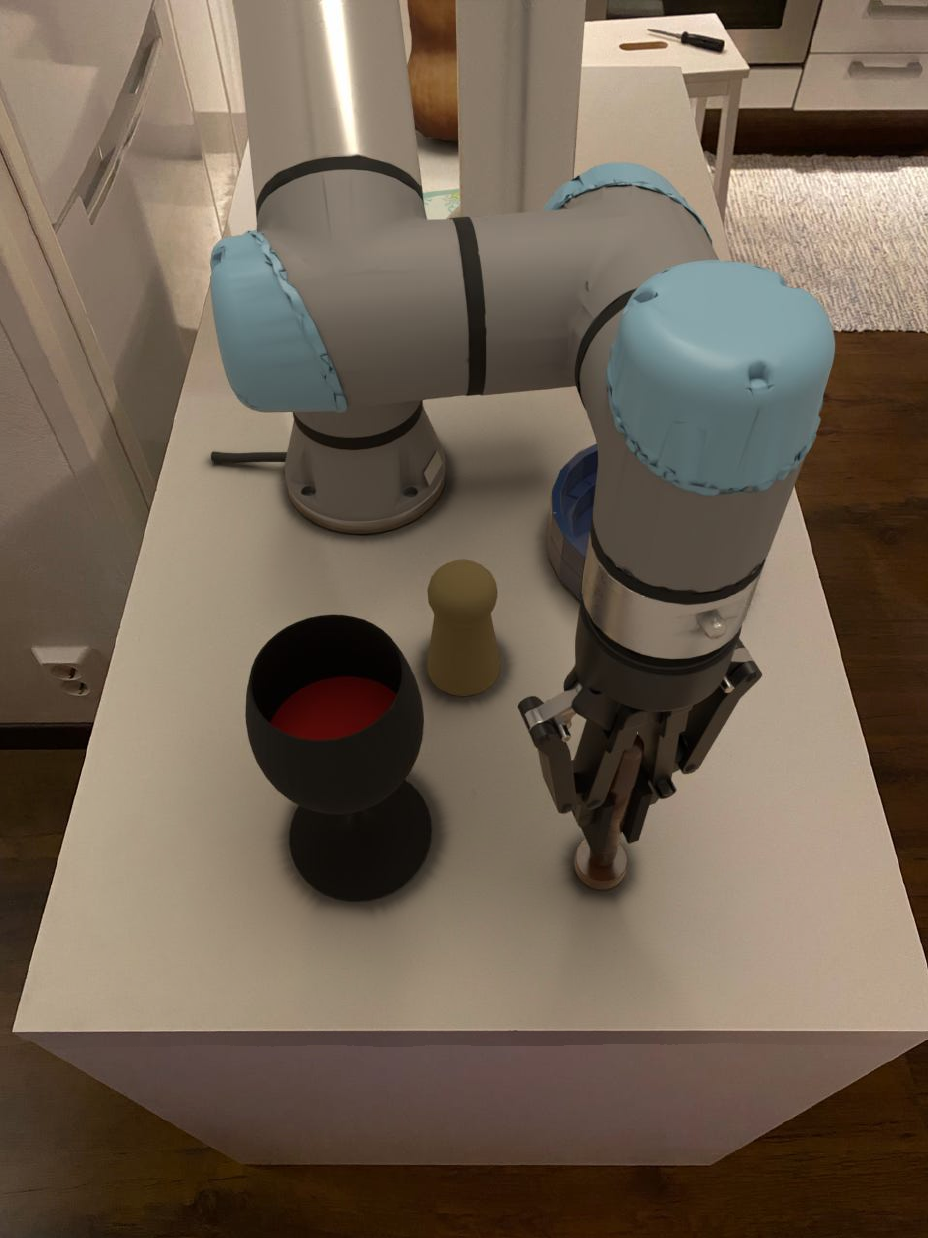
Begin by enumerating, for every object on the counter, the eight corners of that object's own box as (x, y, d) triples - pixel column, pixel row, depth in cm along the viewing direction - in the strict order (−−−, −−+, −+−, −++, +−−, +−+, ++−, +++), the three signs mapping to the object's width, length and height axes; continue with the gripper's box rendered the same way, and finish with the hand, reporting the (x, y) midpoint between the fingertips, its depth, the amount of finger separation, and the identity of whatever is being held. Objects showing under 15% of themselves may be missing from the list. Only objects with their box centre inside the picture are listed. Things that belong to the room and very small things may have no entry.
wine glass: (432, 767, 72) (419, 599, 56) (433, 900, 65) (420, 753, 50) (294, 771, 72) (243, 605, 56) (282, 905, 65) (221, 760, 49)
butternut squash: (449, 170, 129) (444, -45, 109) (386, 136, 135) (371, -73, 115) (522, 137, 134) (530, -74, 115) (458, 106, 140) (456, -99, 121)
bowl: (550, 626, 80) (555, 580, 75) (545, 481, 91) (549, 433, 86) (760, 629, 79) (778, 583, 75) (730, 483, 90) (744, 435, 86)
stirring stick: (575, 889, 65) (600, 766, 52) (573, 841, 68) (596, 711, 54) (627, 890, 65) (666, 767, 52) (623, 842, 67) (659, 712, 54)
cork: (458, 624, 80) (456, 534, 72) (515, 661, 78) (520, 572, 69) (411, 669, 77) (403, 582, 69) (469, 709, 75) (467, 623, 66)
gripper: (542, 710, 40) (522, 918, 59) (847, 621, 43) (736, 846, 61) (484, 583, 45) (482, 813, 63) (764, 510, 47) (683, 751, 66)
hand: (607, 829), depth 62 cm, fingers closed on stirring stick, 2 cm apart
